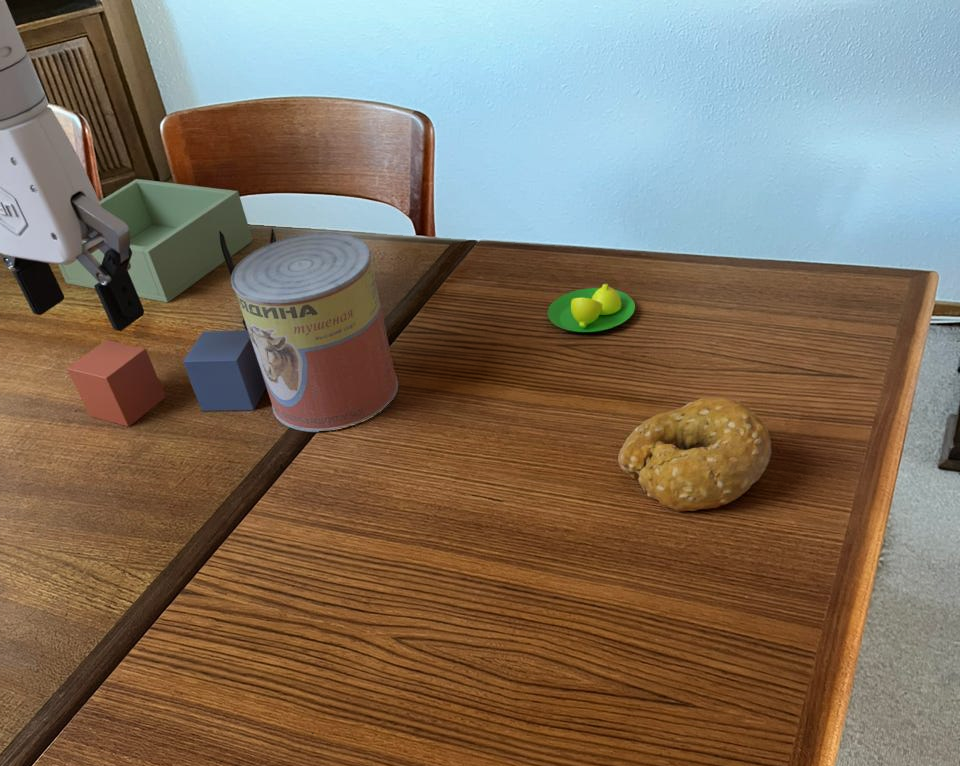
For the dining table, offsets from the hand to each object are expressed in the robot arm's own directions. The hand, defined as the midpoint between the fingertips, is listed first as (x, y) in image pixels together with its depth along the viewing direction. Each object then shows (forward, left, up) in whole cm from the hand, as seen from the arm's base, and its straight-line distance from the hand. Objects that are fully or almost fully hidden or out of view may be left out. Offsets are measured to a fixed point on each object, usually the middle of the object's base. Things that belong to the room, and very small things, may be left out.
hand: (89, 314), depth 82 cm
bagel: (+51, +8, -9) cm, 52 cm away
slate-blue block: (+9, +5, -9) cm, 14 cm away
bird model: (+3, +17, -9) cm, 20 cm away
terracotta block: (0, 0, -9) cm, 9 cm away
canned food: (+18, +8, -9) cm, 22 cm away
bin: (-18, +24, -9) cm, 31 cm away
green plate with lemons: (+34, +27, -9) cm, 44 cm away
